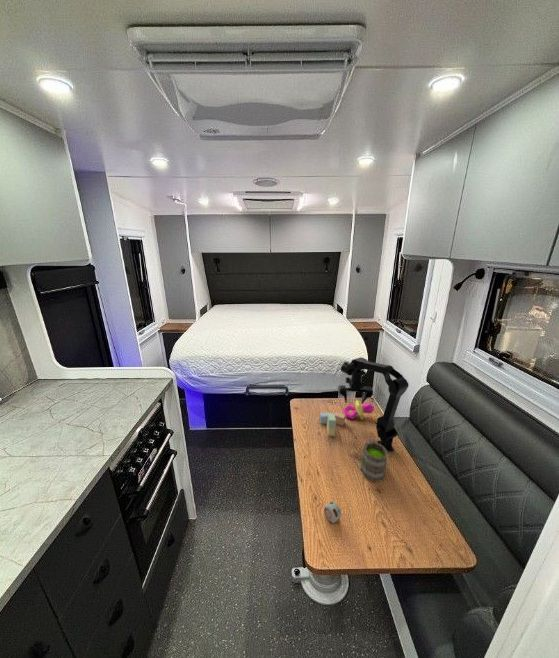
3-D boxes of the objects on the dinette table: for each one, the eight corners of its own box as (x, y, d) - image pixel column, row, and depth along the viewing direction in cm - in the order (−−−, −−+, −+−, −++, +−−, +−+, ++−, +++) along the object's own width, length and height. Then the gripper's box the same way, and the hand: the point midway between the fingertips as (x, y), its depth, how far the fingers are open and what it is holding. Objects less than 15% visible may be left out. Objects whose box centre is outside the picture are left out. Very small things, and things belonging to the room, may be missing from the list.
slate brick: (329, 419, 153) (329, 412, 152) (330, 423, 150) (331, 415, 149) (319, 420, 153) (319, 412, 151) (321, 423, 149) (321, 416, 148)
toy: (343, 409, 164) (341, 401, 157) (372, 404, 161) (371, 395, 155) (347, 424, 156) (345, 416, 150) (377, 419, 153) (376, 410, 147)
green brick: (335, 428, 138) (336, 420, 137) (328, 428, 138) (329, 420, 137) (333, 421, 144) (334, 413, 142) (327, 420, 144) (328, 413, 143)
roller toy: (330, 507, 101) (331, 496, 99) (342, 520, 96) (344, 509, 95) (322, 513, 99) (323, 502, 97) (334, 527, 94) (336, 516, 92)
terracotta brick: (344, 422, 151) (345, 415, 149) (342, 425, 148) (343, 418, 147) (335, 418, 154) (335, 411, 152) (332, 422, 151) (333, 414, 150)
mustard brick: (334, 436, 140) (335, 428, 138) (328, 435, 140) (328, 428, 138) (333, 428, 145) (333, 421, 144) (326, 428, 146) (327, 420, 144)
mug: (387, 483, 112) (391, 462, 108) (361, 479, 114) (364, 457, 110) (380, 456, 126) (384, 436, 123) (358, 452, 128) (360, 433, 125)
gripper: (369, 373, 151) (366, 396, 156) (337, 371, 152) (335, 394, 157) (375, 382, 141) (371, 406, 145) (340, 381, 142) (338, 405, 146)
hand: (353, 403), depth 149 cm, fingers open, 9 cm apart
